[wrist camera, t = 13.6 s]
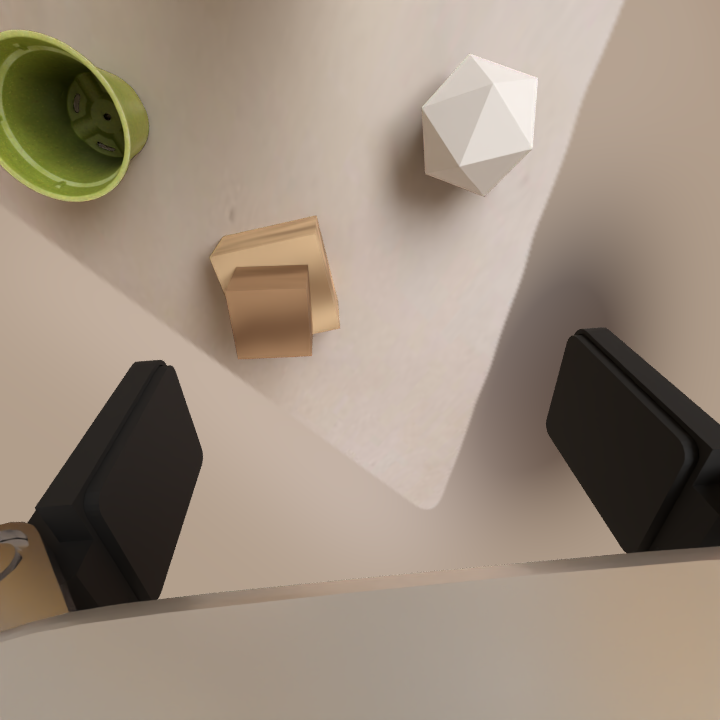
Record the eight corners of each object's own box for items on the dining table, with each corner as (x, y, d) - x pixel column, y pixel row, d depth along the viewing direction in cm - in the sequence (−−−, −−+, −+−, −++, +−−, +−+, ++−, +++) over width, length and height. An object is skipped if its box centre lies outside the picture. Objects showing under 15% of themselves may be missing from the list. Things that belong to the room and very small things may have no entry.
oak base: (223, 235, 40) (209, 257, 35) (316, 214, 39) (315, 233, 34) (255, 318, 45) (246, 347, 40) (338, 300, 44) (339, 328, 39)
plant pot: (43, 153, 35) (-30, 171, 28) (42, 18, 30) (-45, -3, 23) (161, 195, 37) (123, 221, 30) (178, 75, 33) (137, 72, 26)
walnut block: (236, 266, 35) (224, 291, 31) (308, 264, 36) (306, 288, 32) (247, 329, 39) (238, 359, 35) (312, 326, 39) (311, 355, 35)
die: (412, 188, 39) (500, 231, 34) (377, 104, 32) (483, 144, 26) (473, 119, 39) (570, 152, 34) (453, 19, 32) (574, 41, 26)
